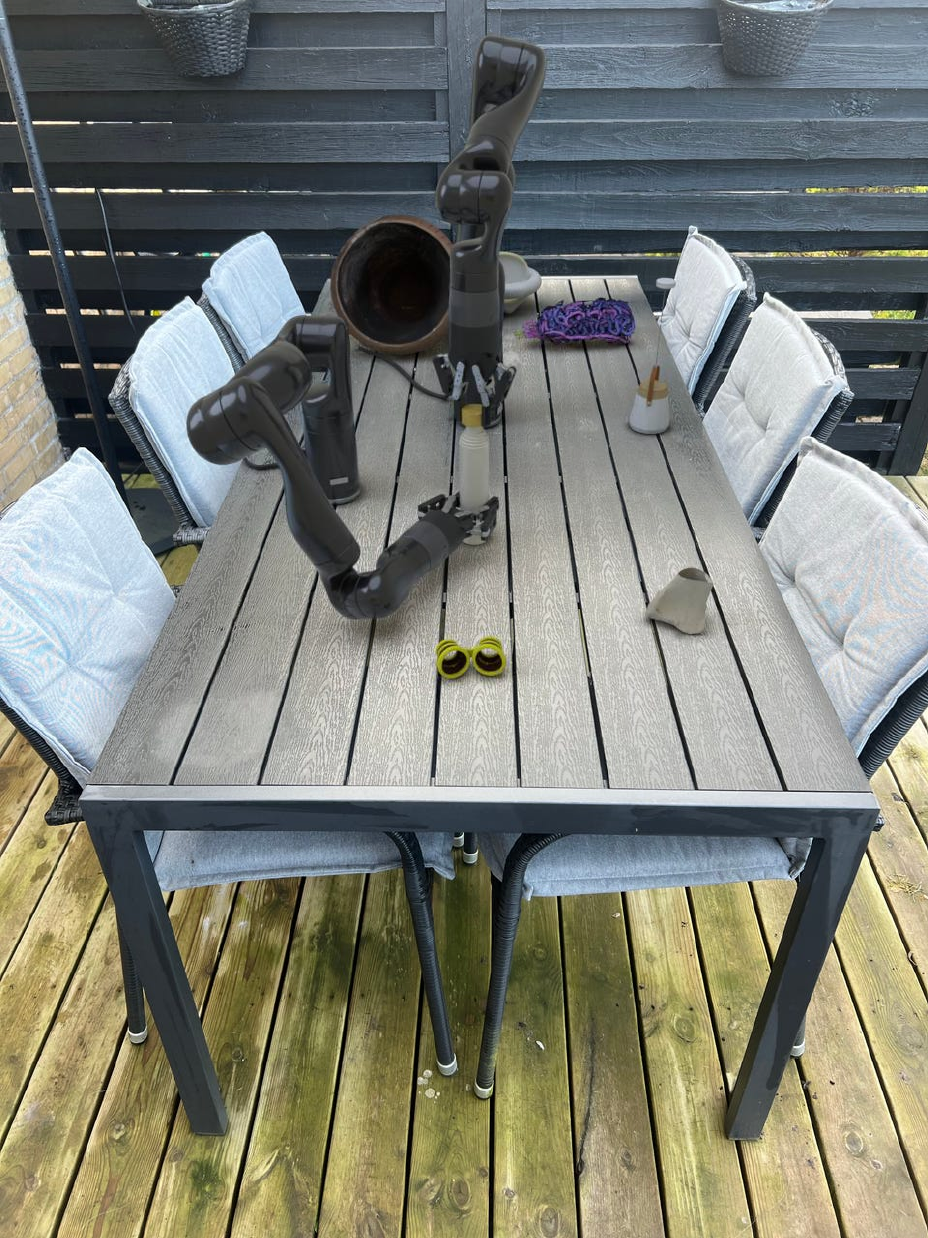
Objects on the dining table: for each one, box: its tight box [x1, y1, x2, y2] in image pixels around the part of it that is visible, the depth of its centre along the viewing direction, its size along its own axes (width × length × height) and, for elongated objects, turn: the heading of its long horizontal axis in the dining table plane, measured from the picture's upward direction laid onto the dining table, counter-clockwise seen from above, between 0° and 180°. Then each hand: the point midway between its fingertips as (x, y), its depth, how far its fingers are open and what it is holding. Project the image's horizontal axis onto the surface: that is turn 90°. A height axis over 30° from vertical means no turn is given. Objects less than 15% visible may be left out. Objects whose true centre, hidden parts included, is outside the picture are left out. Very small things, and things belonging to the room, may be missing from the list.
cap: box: [462, 404, 482, 427], centre depth 148 cm, size 4×4×2 cm
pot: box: [329, 213, 454, 356], centre depth 230 cm, size 32×32×30 cm
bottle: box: [458, 426, 491, 546], centre depth 155 cm, size 5×5×23 cm
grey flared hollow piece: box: [645, 566, 715, 635], centre depth 139 cm, size 9×8×10 cm
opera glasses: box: [435, 635, 507, 679], centre depth 132 cm, size 10×5×5 cm, turn 95°
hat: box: [499, 251, 543, 314], centre depth 248 cm, size 25×22×15 cm
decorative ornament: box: [513, 296, 636, 345], centre depth 229 cm, size 13×11×30 cm
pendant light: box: [628, 277, 677, 435], centre depth 186 cm, size 8×8×30 cm
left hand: (482, 497), depth 159 cm, fingers closed on bottle, 5 cm apart
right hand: (474, 422), depth 148 cm, fingers closed on cap, 4 cm apart
